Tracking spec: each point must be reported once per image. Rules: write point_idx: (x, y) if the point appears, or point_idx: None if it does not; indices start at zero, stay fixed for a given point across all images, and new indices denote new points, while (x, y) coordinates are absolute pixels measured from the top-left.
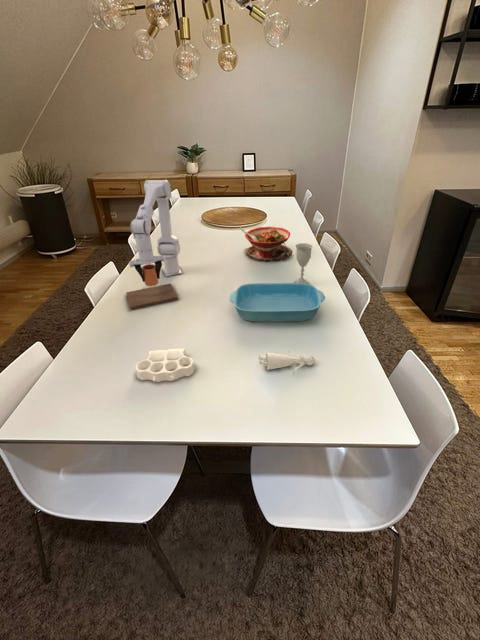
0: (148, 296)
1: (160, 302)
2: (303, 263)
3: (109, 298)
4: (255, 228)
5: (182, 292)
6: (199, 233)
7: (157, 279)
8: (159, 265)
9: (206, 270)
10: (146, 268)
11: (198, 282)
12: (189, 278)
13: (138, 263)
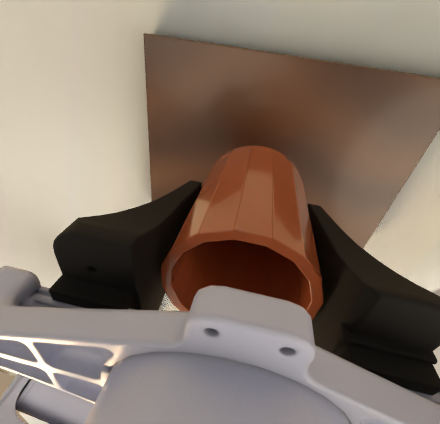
0: (294, 149)
1: (259, 50)
2: None
3: (433, 262)
4: None
5: (117, 112)
6: None
7: (207, 176)
8: (98, 227)
9: (14, 229)
10: None
11: (40, 161)
12: (77, 214)
13: (420, 410)
